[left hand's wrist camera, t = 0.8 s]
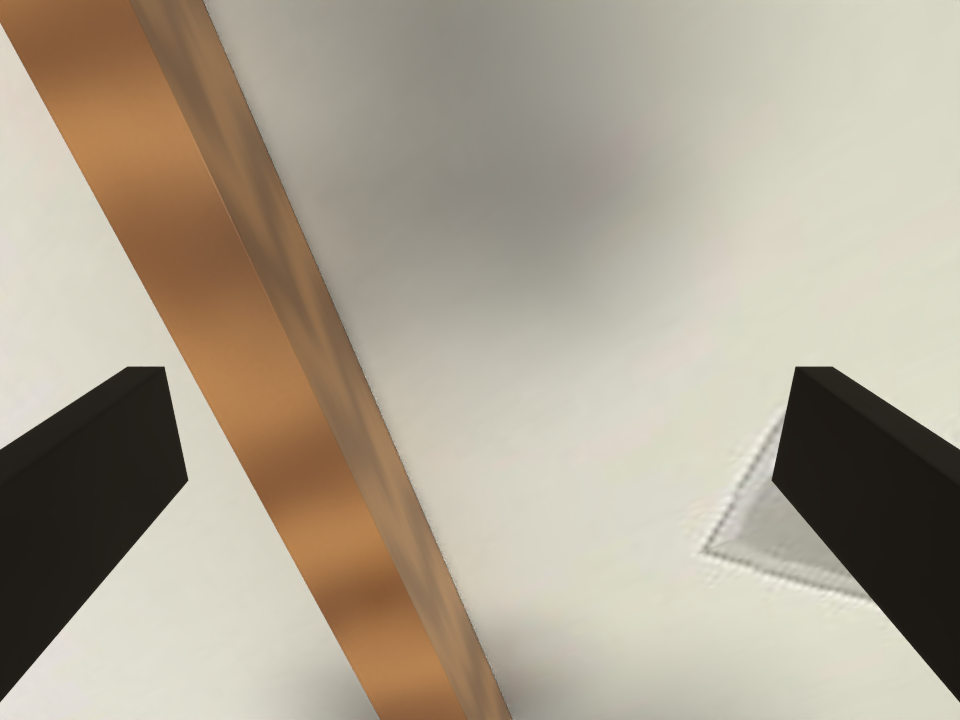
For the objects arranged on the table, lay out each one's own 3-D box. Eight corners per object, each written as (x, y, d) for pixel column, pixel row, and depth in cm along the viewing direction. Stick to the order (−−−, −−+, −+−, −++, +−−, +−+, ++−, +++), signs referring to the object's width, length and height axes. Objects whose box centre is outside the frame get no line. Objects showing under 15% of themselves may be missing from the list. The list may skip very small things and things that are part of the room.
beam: (7, -180, 26) (-179, -304, 19) (106, -225, 25) (-46, -371, 18) (453, 733, 47) (448, 844, 39) (512, 719, 46) (518, 829, 39)
